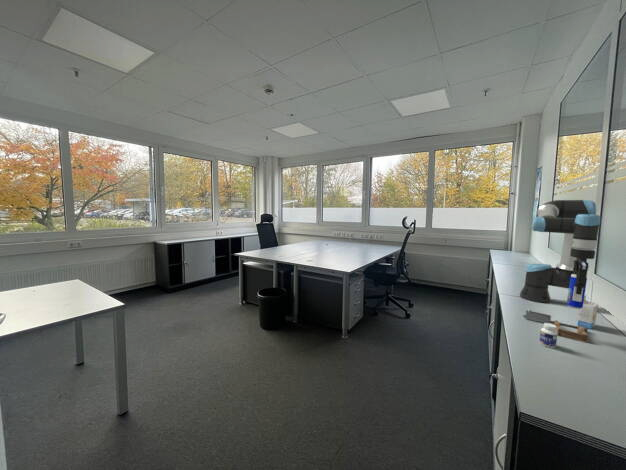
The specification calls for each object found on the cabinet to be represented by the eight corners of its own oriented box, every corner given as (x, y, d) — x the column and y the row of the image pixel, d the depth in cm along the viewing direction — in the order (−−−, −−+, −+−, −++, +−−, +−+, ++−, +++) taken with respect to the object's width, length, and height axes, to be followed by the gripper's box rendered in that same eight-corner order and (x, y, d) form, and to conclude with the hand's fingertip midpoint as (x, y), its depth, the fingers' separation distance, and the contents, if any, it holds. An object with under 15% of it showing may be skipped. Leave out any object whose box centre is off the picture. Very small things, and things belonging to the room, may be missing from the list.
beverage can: (566, 304, 121) (571, 273, 119) (582, 307, 117) (587, 275, 115) (566, 306, 117) (571, 274, 115) (582, 310, 113) (587, 277, 112)
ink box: (591, 329, 125) (596, 300, 124) (577, 325, 129) (581, 297, 128) (595, 325, 130) (599, 297, 128) (581, 321, 134) (585, 294, 132)
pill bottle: (536, 342, 110) (538, 323, 109) (543, 340, 112) (545, 321, 111) (551, 349, 105) (554, 328, 105) (558, 347, 108) (561, 326, 107)
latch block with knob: (525, 317, 136) (526, 308, 136) (549, 322, 131) (550, 313, 130) (525, 318, 135) (526, 309, 134) (549, 324, 129) (551, 314, 128)
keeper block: (523, 316, 138) (523, 311, 138) (585, 330, 124) (585, 324, 124) (524, 327, 125) (525, 321, 125) (594, 344, 111) (595, 337, 110)
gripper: (567, 245, 124) (561, 292, 126) (575, 250, 109) (567, 302, 112) (590, 247, 119) (582, 296, 122) (601, 252, 105) (592, 307, 107)
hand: (575, 299), depth 117 cm, fingers closed on beverage can, 5 cm apart
